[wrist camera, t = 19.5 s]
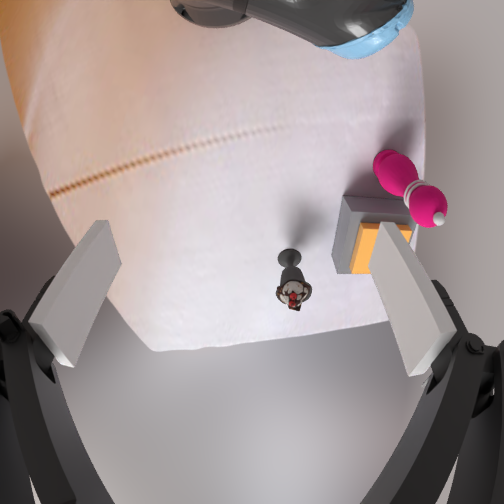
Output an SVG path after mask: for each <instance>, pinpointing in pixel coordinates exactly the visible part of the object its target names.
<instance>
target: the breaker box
mask: <svg viewBox="0 0 504 504" xmlns="http://www.w3.org/2000/svg"><path fill="white" fill-rule="evenodd" d="M380 222H394V223H395V224H398V225H408V226H409V227H410V228H411V230H412V234H411V237H410V240H409V242H408V244H410V241H411V239H412V236H413V233H414V230H415V227H416V224H417V223H416V222H415V221H414V220H413V218H412V217H411V215H410V212H409V208H408V207H407V206H406V205H405V202H404V200H395V199H383V198H371V197H356V196H343V197H342V203H341V209H340V214H339V220H338V225H337V230H336V235H335V240H334V245H333V250H332V258H333V262H334V265H335V268H336V271H337V274H352V273H351V270H350V268H349V266H350V262H351V258H352V254H353V250H354V247H355V243H356V239H357V234H358V230H359V226H360V223H380Z"/></svg>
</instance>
